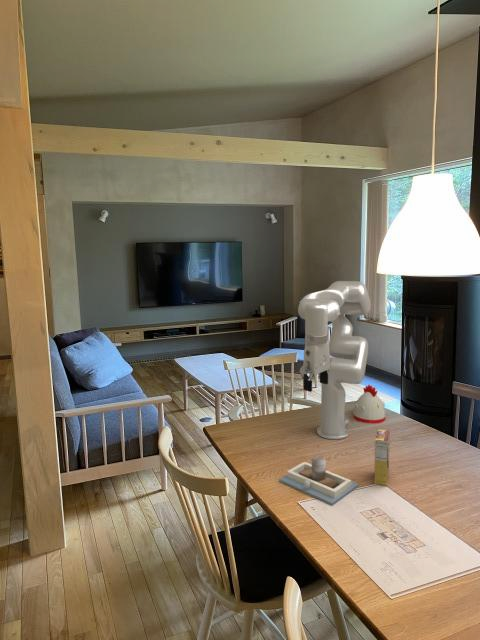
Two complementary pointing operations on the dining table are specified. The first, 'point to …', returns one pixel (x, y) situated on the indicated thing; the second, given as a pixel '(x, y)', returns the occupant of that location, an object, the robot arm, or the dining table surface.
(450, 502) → the dining table surface
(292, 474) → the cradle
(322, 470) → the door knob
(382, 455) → the candy box
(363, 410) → the kitchen timer
